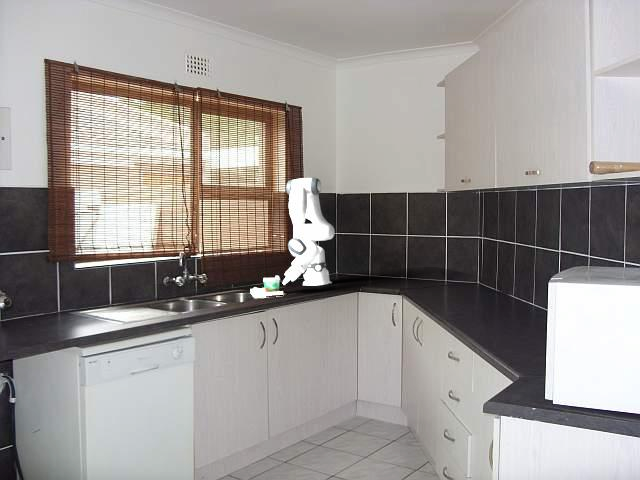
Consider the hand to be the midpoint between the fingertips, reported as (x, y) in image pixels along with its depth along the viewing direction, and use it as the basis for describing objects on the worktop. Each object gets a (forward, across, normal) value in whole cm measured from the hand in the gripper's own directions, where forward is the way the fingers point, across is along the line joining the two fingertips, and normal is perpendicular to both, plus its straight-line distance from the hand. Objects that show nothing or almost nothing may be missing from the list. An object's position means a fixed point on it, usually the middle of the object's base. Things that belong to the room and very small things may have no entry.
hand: (283, 284), depth 377 cm
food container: (+8, 0, 0) cm, 8 cm away
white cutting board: (+10, 0, -3) cm, 11 cm away
